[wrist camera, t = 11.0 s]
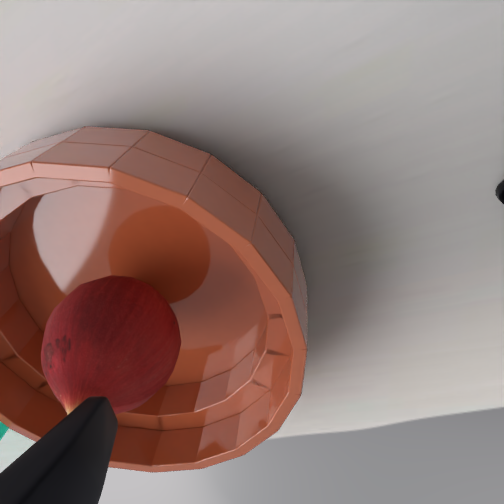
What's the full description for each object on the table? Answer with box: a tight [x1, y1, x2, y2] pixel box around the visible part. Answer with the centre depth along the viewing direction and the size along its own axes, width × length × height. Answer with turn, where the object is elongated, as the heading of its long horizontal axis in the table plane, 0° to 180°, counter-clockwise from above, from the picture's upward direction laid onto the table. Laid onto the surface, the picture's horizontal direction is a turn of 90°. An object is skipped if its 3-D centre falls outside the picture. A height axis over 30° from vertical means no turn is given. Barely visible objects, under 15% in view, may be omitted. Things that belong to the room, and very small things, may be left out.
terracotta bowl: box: [0, 126, 307, 472], centre depth 21 cm, size 17×17×5 cm
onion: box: [41, 275, 181, 415], centre depth 19 cm, size 6×6×8 cm
